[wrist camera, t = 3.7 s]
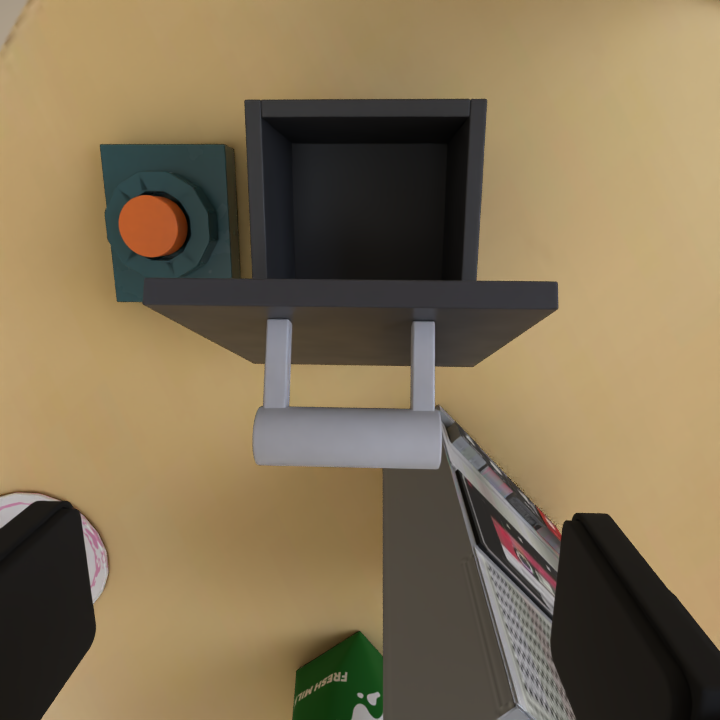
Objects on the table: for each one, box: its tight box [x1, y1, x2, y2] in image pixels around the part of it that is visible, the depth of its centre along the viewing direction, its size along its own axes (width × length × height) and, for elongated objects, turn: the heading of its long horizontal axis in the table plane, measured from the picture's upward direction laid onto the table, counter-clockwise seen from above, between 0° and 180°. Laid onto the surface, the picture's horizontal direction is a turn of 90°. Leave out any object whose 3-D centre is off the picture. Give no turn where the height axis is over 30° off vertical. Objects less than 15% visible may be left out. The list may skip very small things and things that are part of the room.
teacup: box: [0, 492, 109, 604], centre depth 41 cm, size 12×12×6 cm
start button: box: [119, 195, 188, 257], centre depth 33 cm, size 4×4×2 cm
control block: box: [100, 144, 241, 302], centre depth 35 cm, size 10×8×4 cm
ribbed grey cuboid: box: [383, 405, 576, 720], centre depth 29 cm, size 14×6×25 cm, turn 43°
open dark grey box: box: [244, 99, 487, 281], centre depth 32 cm, size 13×12×10 cm
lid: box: [142, 278, 558, 469], centre depth 21 cm, size 13×12×5 cm
